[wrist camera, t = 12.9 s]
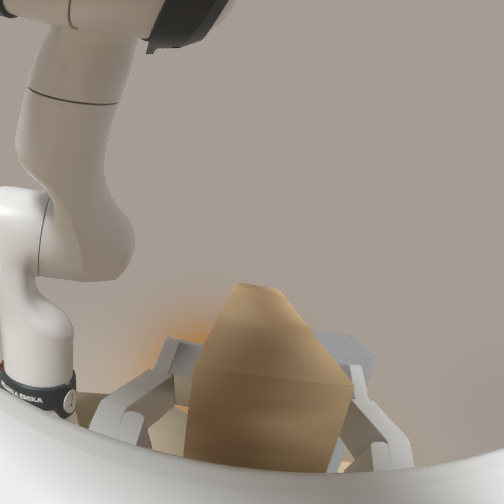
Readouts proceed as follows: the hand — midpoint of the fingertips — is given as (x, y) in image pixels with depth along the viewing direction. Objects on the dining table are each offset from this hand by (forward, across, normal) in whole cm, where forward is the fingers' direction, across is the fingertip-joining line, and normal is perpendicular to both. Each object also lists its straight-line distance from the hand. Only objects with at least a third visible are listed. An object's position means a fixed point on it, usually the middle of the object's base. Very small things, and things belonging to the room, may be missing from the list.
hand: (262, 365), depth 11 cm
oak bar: (+5, 0, +5) cm, 7 cm away
